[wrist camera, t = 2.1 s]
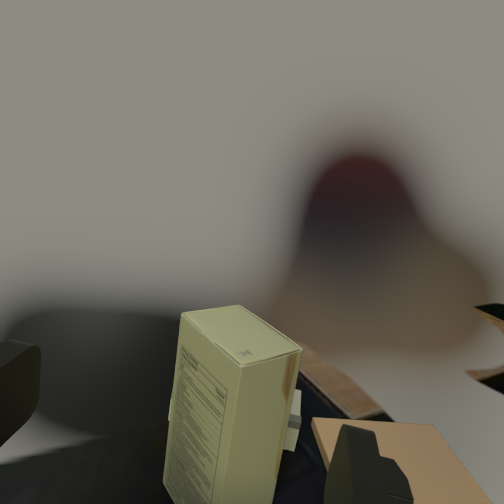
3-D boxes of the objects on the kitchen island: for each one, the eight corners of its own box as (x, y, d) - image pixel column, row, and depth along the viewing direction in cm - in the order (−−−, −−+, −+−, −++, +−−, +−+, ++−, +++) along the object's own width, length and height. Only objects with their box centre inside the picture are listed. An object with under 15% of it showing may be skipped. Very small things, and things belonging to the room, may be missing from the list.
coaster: (430, 432, 36) (432, 424, 36) (523, 559, 25) (528, 550, 25) (310, 425, 34) (312, 417, 34) (358, 559, 24) (361, 548, 23)
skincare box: (269, 528, 25) (311, 351, 21) (208, 565, 22) (244, 370, 18) (214, 454, 29) (241, 300, 26) (157, 477, 27) (179, 309, 23)
